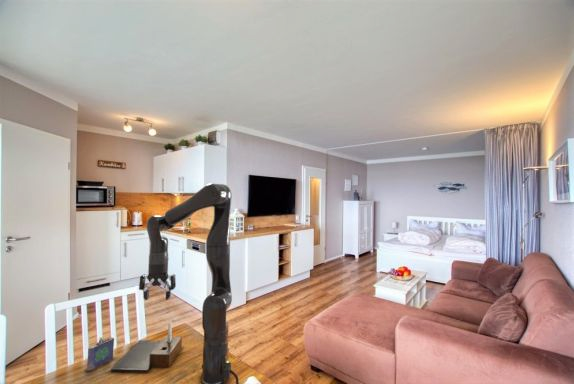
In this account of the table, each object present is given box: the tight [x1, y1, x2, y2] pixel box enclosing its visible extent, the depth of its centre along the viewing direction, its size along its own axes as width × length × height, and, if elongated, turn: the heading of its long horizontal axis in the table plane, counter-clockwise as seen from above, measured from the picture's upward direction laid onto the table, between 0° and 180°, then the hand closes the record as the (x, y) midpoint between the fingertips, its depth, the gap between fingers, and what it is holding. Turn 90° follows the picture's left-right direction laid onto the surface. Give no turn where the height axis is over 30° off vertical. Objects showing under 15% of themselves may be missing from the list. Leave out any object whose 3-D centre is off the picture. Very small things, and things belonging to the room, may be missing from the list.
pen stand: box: [149, 336, 183, 368], centre depth 110 cm, size 8×13×5 cm, turn 1°
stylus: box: [167, 322, 173, 343], centre depth 112 cm, size 1×1×13 cm
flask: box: [86, 336, 115, 372], centre depth 103 cm, size 9×3×11 cm, turn 151°
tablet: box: [110, 339, 161, 373], centre depth 110 cm, size 14×20×1 cm
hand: (157, 299), depth 109 cm, fingers open, 8 cm apart
